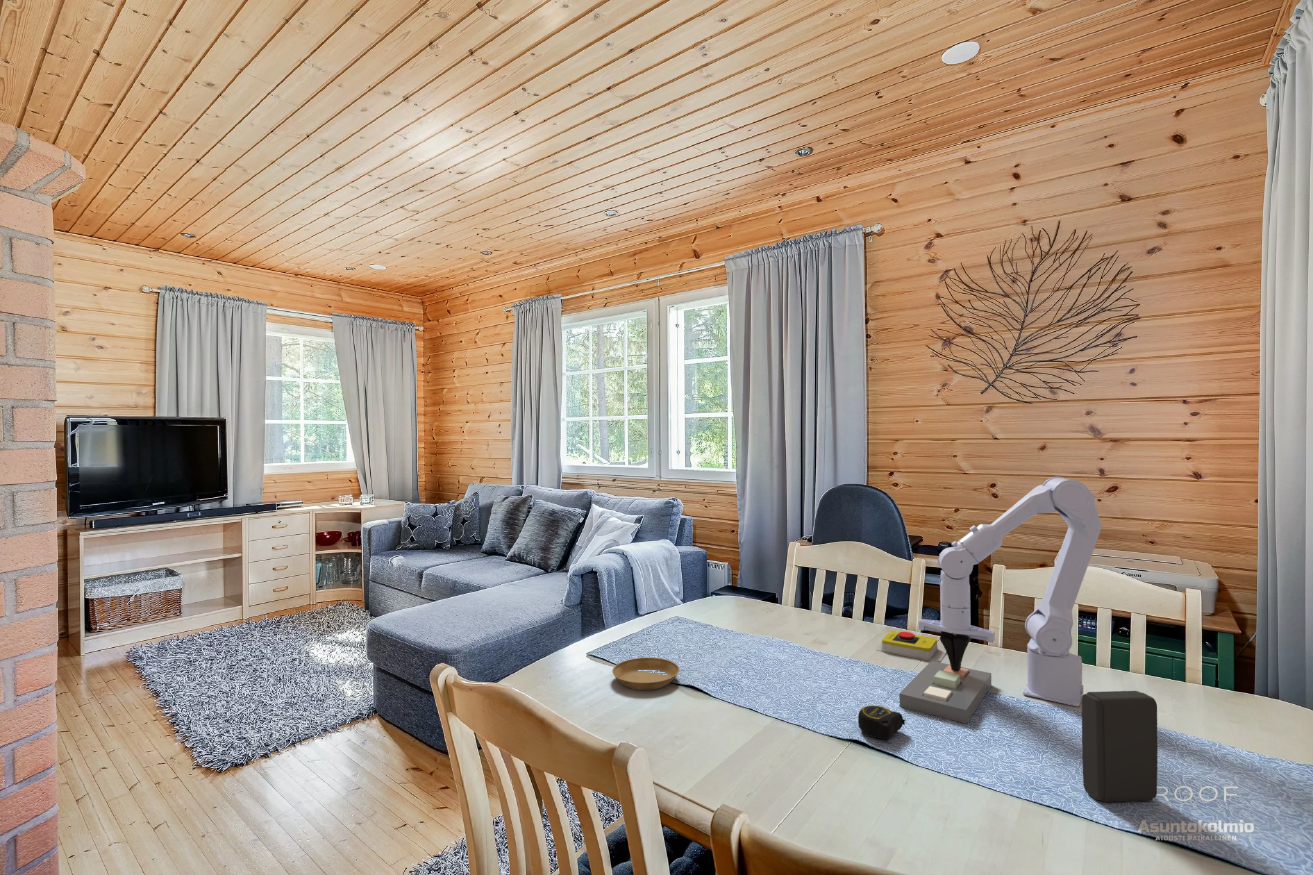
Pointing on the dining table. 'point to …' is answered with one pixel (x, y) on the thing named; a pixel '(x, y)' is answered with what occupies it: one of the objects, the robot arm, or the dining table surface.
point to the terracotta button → (961, 672)
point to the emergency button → (911, 646)
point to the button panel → (961, 698)
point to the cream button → (937, 693)
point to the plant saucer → (645, 673)
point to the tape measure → (879, 721)
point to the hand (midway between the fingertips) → (955, 669)
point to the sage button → (947, 679)
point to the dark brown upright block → (1119, 746)
